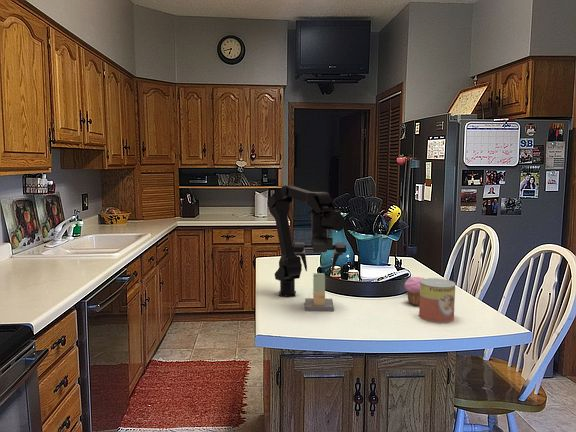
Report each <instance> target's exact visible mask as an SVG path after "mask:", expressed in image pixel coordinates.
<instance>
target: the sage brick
mask: <svg viewBox="0 0 576 432" xmlns="http://www.w3.org/2000/svg"><path fill="white" fill-rule="evenodd" d="M312 277H313V279H312V280H313V281H312V283H313V284H312V285H313V288H312V290H313V289H314V291H325V292H326V275H325V273H323V272H321V273H320V272H319V273H318V272H317V273H313V275H312Z"/></svg>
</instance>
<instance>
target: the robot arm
mask: <svg viewBox="0 0 576 432" xmlns="http://www.w3.org/2000/svg"><path fill="white" fill-rule="evenodd" d="M294 199H295V200H297V201H301V202H303V203H305V205H306V207H309V208H310V210H309V211H307V214H308V215H311V233H310V234H311V239H310V240H311V241H310V242H311V244H305V242H303V241H301V242H299V241H294V243H293V239H292V233H291V228H290V224H289V219H288V216H289V213H290V210H291V204H292V203H293V201H294ZM266 203H267V204H266V205H267V207H268V211H269V213H270V214H271V216H272V217H273V218H274V220H275V226H276V232H277V238H278V241H279V242H278V243H279V249H280V254H281V255H280V257H279V260H278V269H277V270H276V272H274V279H275V280H277V281H279V284H280V285H279V286H280V287H279V292H278V297H296V295H297V291H296V290H295V289H296V288H295V287H296V286H295V285H296V283H295V280H297V279H300V277H301V273H302V270H303V267H304V271H305V272H308V265H307V255H306V251H312V252H314V253H327V252H328V251H332V253H333V254H332V259H331V261H332V262H331V272H332V273H333V272H334V269H335V266H336V265H337V261H338V259H339V257H340V256H343V254H344V253H345V254H347V244H346V243H345V242H334V240H333V239H334V238H333V237H328V235H329V234H328V230H330V231H335V232H341V231H343V230H344V229H345V226H346V219H345V216H344V215H342V211H341V210H337V208H336V206H335V203H334V202H333V200H332V198H331V196H330V193H329V192H326V191H311V190H308V189H303V188H301V187H298V186H295V185H292V184H291V185H283V186H281V187H280V189H278V190H277V191H276V192H273V193H272V195H270V196H269V198H268V200H267V202H266ZM302 263H303V264H302Z"/></svg>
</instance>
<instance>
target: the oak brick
mask: <svg viewBox="0 0 576 432" xmlns="http://www.w3.org/2000/svg"><path fill="white" fill-rule="evenodd" d="M312 290H313V292H312V297H313V305H325V299H326V290H325V291H314V289H313V288H312Z"/></svg>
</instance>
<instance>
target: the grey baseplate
mask: <svg viewBox="0 0 576 432" xmlns="http://www.w3.org/2000/svg"><path fill="white" fill-rule="evenodd" d="M304 304H305V305H304V311H306V312H334V311H335V310H334V309H335V307H334V306H335V305H334V301H333V298H325V305H313V298H310V297H309V298H307V297H306V298H304Z"/></svg>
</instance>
